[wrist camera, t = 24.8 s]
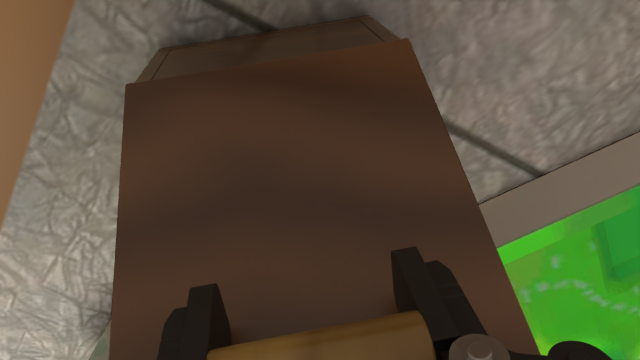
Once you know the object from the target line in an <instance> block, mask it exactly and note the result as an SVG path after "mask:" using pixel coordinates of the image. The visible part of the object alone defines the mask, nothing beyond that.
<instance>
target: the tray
mask: <svg viewBox="0 0 640 360" xmlns="http://www.w3.org/2000/svg"><path fill="white" fill-rule="evenodd" d="M479 208H480V210H481V213H482V215H483V217H484V220H485V222H486V225H487V227H488V229H489V232H490V234H491V236H492V239H493V241H494V244H495V246H496V248H497V251H498V253H499V256H500V258H501V260H502V263H503V265H504V268H505V270H506V272H507V275H508V277H509V279H510V282H511V284H512V287H513V289H514V291H515V294H516V296H517V299H518V301H519V303H520V306H521V308H522V311H523V313H524V315H525V318H526V320H527V322H528V325H529V327H530V330H531V332H532V334H533V337H534V339H535V342H536V344H537V346H538V349H539V351H540V354H541V355H546V356H547V355H548V352H549V350H550V349H551V347H552V346H554V345H555V344H557V343H559V342H562V341H571V340H573V341H581V342H585V343H588V344H591V345H593V346H595V347H597V348H599V349H600V350H602V351H603V352H604V353H606V354H607V355H608V356H609V357H610V358H611V359H613V360H640V132H638V133H636V134H634V135H632V136H630V137H627V138H625V139H623V140H621V141H619V142H616V143H614V144H612V145H610V146H608V147H605V148H603V149H601V150H599V151H597V152H594V153H592V154H590V155H588V156H586V157H583V158H581V159H579V160H577V161H574V162H572V163H570V164H568V165H566V166H563V167H561V168H559V169H557V170H555V171H552V172H550V173H548V174H546V175H544V176H541V177H539V178H537V179H535V180H533V181H530V182H528V183H526V184H524V185H522V186H519V187H517V188H515V189H513V190H511V191H508V192H506V193H504V194H502V195H500V196H497V197H495V198H493V199H491V200H489V201H486V202H484V203H482V204H480V205H479Z"/></svg>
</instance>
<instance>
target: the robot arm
mask: <svg viewBox="0 0 640 360" xmlns="http://www.w3.org/2000/svg"><path fill="white" fill-rule="evenodd" d="M391 265H392V277H393V290H394V297H395V302H396V306H397V310H398V313H402V312H407V311H412V310H416V311H419V312H420V313H421V315H422V316H423V318H424V320H425V322H426V324H427V327H428V329H429V332H430V335H431V338H432V342H433V345H434V349H435V354H436V359H437V360H613V359H611V358H610V357H609V356H608V355H607V354H606V353H604V352H603V351H602V350H600V349H599V348H597V347H595V346H593V345H591V344H588V343H585V342H581V341H573V340H571V341H562V342H559V343H557V344H555V345H554V346H552V347H551V349H550V350H549V352H548V355H547V356H546V355H533V354H522V353H517V352H513V351H510V350H507V349H506V348H505V346H504V345H503V344H502V343H500V342H499V341H498V340H496V339H494V338H492V337H490V336H489V335H488V334H487V332H486V331H485V329H484V327H483V325H482V324H481V322H480V320H479V318H478V317H477V315H476V313H475V311H474V310H473V308H472V306H471V304H470V303H469V301H468V299H467V297H466V296H465V295H464V292H463V290H462V289H461V287H460V285H458V282H457V280H456V278H455V276H454V275H453V273H452V271H451V270H450V269H449V268H448V267H446V266H445V265H443V264H442V263H441V262H439V261H438V260H435V261H430V262H424V260H423V258H422V256H421V254H420V252H419V250H418V248H417V247H416V246H414V247H409V248H404V249H398V250H393V251H391ZM231 345H232V338H231V329H230V324H229V320H228V317H227V313H226V310H225V307H224V303H223V300H222V297H221V293H220V290H219V287H218V285H217V283H213V284H208V285H202V286H197V287H192V288H190V290H189V296H188V302H187V307H182V308H177V309H174V310H173V311H172V313H171V314H170V316H169V317H168V319H167V320H166V322H165V323H164V326H163V331H162V336H161V342H160V345H159V350H158V351H159V354H158V355H157V360H206V357H207V354H208V352H209V351H210V350H212V349H215V348H221V347H226V346H231Z"/></svg>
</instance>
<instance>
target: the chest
mask: <svg viewBox="0 0 640 360" xmlns="http://www.w3.org/2000/svg"><path fill="white" fill-rule="evenodd" d="M399 39H400V38H398V37H397V36H396V35H394V34H393V33H392V32H390V31H389V30H387V29H386V28H385V27H383V26H382V25H381V24H379V23H378V22H377V21H375V20H374V19H373V18H371V17H370V16H362V17H356V18H350V19H344V20H337V21H331V22H325V23H319V24H312V25H306V26H300V27H294V28H288V29H281V30H275V31H269V32H263V33H256V34H250V35H244V36H238V37H231V38H225V39H219V40H213V41H206V42H200V43H194V44H188V45H182V46H175V47H169V48H163V49H159V50H158V51H157V53H156V54H155V55H154V57H153V58H152V59H151V61H150V62H149V64H148V65H147V66H146V68H145V69H144V70H143V72H142V73H141V75H140V76H139V77H138V79H137V80H136V81H135V83H136V82H142V81H148V80H154V79H161V78H167V77H173V76H179V75H185V74H191V73H197V72H203V71H209V70H216V69H222V68H228V67H234V66H240V65H246V64H252V63H258V62H265V61H271V60H277V59H283V58H289V57H295V56H301V55H307V54H313V53H320V52H326V51H332V50H338V49H344V48H350V47H356V46H362V45H368V44H375V43H381V42H387V41H393V40H399Z"/></svg>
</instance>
